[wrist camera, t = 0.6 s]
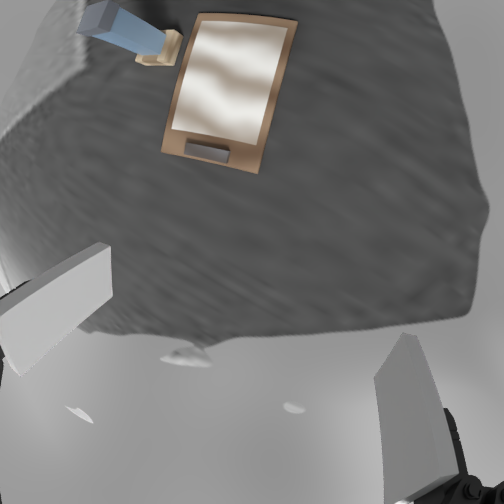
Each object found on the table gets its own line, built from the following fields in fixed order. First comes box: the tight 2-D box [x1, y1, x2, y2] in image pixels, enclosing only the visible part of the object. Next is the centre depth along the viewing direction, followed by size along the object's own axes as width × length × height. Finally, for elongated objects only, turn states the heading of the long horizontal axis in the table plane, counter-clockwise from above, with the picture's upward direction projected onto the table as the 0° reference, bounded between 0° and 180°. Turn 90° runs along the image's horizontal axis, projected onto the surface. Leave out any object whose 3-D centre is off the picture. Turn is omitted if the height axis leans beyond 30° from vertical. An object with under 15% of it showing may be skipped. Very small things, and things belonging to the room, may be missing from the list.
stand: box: [135, 30, 183, 66], centre depth 29 cm, size 5×5×3 cm
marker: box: [76, 0, 166, 55], centre depth 22 cm, size 4×4×14 cm
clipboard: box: [161, 13, 298, 174], centre depth 30 cm, size 22×14×1 cm, turn 167°
